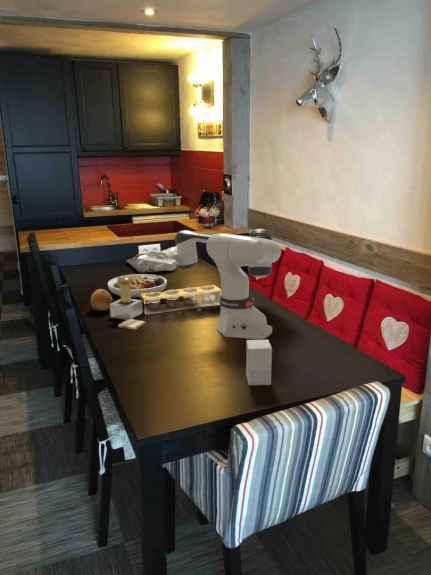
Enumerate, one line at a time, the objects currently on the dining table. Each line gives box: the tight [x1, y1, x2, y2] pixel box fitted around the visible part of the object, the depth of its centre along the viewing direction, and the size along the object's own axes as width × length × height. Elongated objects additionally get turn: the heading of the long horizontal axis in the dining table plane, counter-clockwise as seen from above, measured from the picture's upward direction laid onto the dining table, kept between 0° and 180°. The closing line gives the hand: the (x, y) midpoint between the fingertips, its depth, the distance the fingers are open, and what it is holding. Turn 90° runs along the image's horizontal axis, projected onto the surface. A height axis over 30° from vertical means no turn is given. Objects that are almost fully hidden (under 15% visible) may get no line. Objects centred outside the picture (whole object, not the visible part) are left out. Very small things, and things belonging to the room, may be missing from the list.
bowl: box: [107, 273, 168, 299], centre depth 250 cm, size 30×30×8 cm
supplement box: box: [245, 339, 273, 386], centre depth 153 cm, size 7×7×13 cm
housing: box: [109, 298, 143, 321], centre depth 214 cm, size 10×10×6 cm
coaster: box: [117, 318, 146, 331], centre depth 202 cm, size 8×8×1 cm
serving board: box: [125, 252, 177, 274], centre depth 298 cm, size 39×23×6 cm, turn 24°
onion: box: [89, 288, 113, 312], centre depth 219 cm, size 10×10×10 cm
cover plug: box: [118, 275, 132, 305], centre depth 212 cm, size 6×6×17 cm
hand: (147, 267), depth 225 cm, fingers open, 8 cm apart
